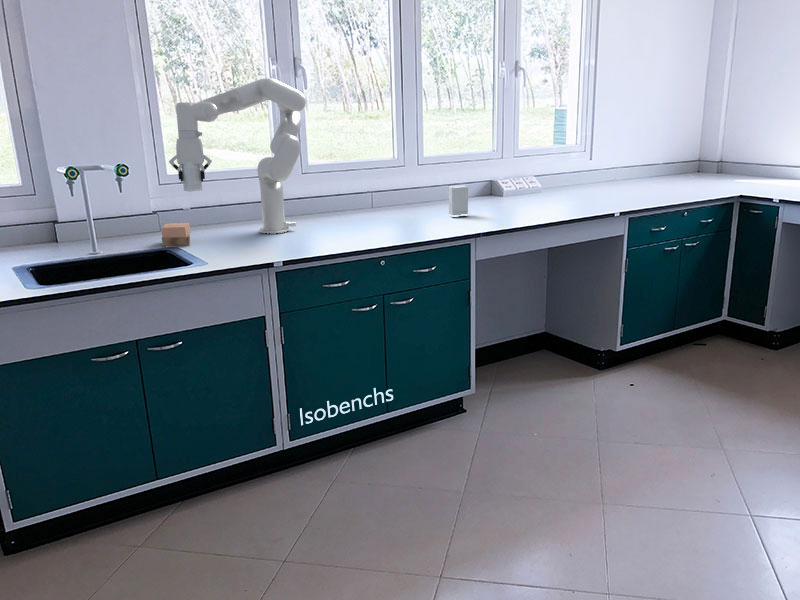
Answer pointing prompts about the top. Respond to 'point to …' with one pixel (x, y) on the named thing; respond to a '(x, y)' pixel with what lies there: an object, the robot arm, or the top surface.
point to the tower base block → (176, 241)
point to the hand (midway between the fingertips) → (192, 180)
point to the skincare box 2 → (458, 200)
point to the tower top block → (175, 230)
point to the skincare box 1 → (191, 177)
